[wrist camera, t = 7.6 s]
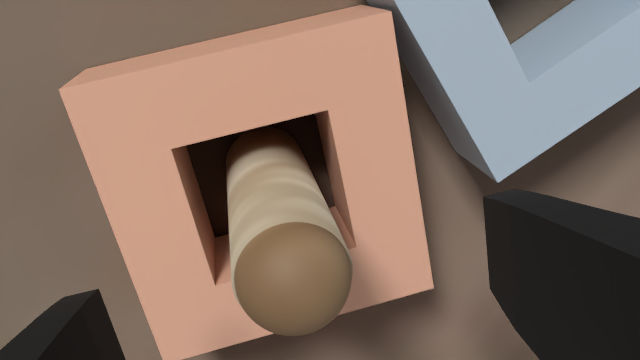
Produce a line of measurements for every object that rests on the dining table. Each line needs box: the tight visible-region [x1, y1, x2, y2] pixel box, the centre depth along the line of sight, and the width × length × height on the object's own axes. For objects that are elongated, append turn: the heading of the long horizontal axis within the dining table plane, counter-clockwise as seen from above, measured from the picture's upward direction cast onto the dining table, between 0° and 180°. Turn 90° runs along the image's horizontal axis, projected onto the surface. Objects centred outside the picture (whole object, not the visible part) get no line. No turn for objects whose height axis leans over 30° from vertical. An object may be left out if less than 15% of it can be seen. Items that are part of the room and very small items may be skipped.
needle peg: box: [226, 126, 353, 336], centre depth 14 cm, size 2×2×8 cm
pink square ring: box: [59, 5, 434, 360], centre depth 16 cm, size 8×8×3 cm
